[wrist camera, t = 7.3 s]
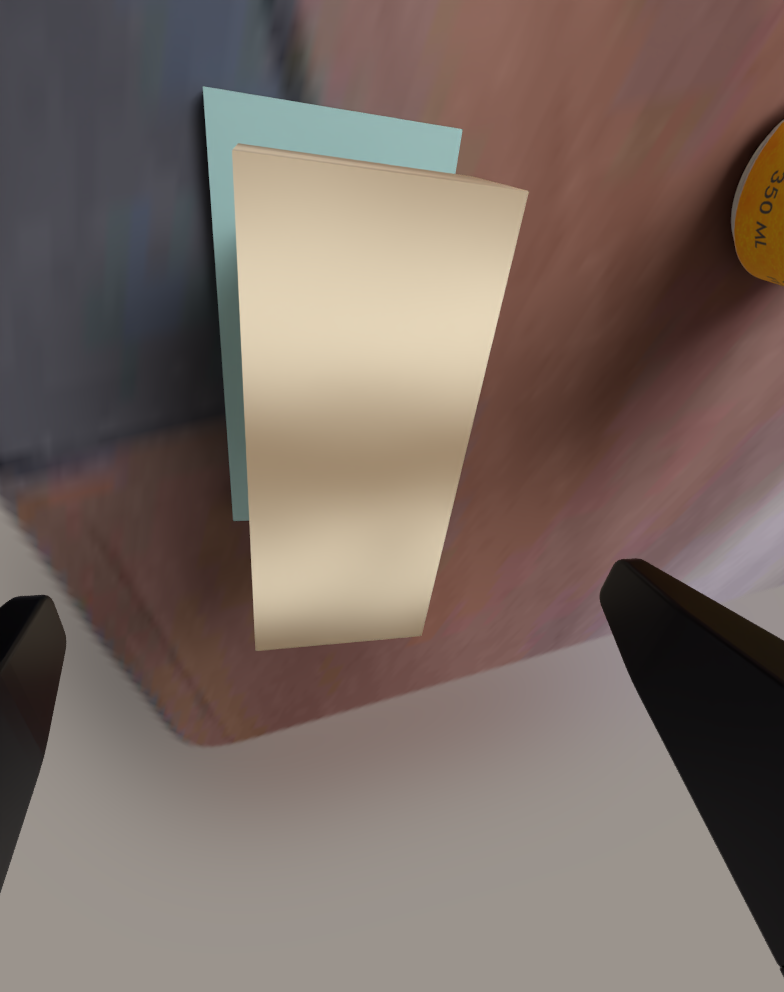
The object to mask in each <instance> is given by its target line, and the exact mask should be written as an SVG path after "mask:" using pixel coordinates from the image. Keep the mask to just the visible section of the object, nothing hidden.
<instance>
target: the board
mask: <svg viewBox="0 0 784 992" xmlns="http://www.w3.org/2000/svg"><path fill="white" fill-rule="evenodd" d="M232 162H233V183H234V204H235V226H236V247H237V268H238V289H239V311H240V332H241V353H242V374H243V396H244V417H245V438H246V460H247V481H248V502H249V523H250V545H251V566H252V587H253V608H254V630H255V651H262V650H272V649H283V648H294V647H305V646H316V645H327V644H338V643H349V642H360V641H371V640H381V639H392V638H403V637H414V636H421V635H422V631H423V627H424V623H425V619H426V615H427V611H428V606H429V602H430V598H431V594H432V590H433V586H434V582H435V577H436V573H437V569H438V565H439V561H440V557H441V553H442V549H443V544H444V540H445V536H446V532H447V528H448V524H449V520H450V515H451V511H452V507H453V503H454V499H455V495H456V491H457V486H458V482H459V478H460V474H461V470H462V466H463V462H464V457H465V453H466V449H467V445H468V441H469V437H470V433H471V428H472V424H473V420H474V416H475V412H476V408H477V404H478V399H479V395H480V391H481V387H482V383H483V379H484V375H485V370H486V366H487V362H488V358H489V354H490V350H491V346H492V341H493V337H494V333H495V329H496V325H497V321H498V317H499V312H500V308H501V304H502V300H503V296H504V292H505V288H506V283H507V279H508V275H509V271H510V267H511V263H512V259H513V255H514V250H515V246H516V242H517V238H518V234H519V230H520V226H521V221H522V217H523V213H524V209H525V205H526V201H527V197H528V192H529V191H526V190H522V189H519V188H515V187H511V186H507V185H503V184H499V183H496V182H492V181H488V180H484V179H480V178H477V177H473V176H466V175H459V174H452V173H445V172H438V171H431V170H424V169H417V168H410V167H402V166H395V165H388V164H381V163H374V162H367V161H360V160H353V159H346V158H339V157H332V156H325V155H318V154H311V153H304V152H297V151H289V150H282V149H275V148H268V147H261V146H254V145H247V144H240V143H238V144H237V145H236V146H235V147H234V148H233V150H232Z"/></svg>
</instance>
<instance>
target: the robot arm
mask: <svg viewBox="0 0 784 992" xmlns="http://www.w3.org/2000/svg"><path fill="white" fill-rule="evenodd" d="M600 603H601V606H602V609H603V611H604V614H605V616H606V619H607V621H608V624H609V626H610V629H611V631H612V634H613V636H614V638H615V641H616V643H617V646H618V648H619V651H620V653H621V656H622V658H623V661H624V663H625V666H626V668H627V671H628V673H629V675H630V677H631V680H632V682H633V684H634V686H635V688H636V690H637V693H638V695H639V696H640V698H641V700H642V702H643V704H644V706H645V708H646V710H647V712H648V714H649V716H650V718H651V720H652V722H653V723H654V725H655V728H656V729H657V731H658V733H659V735H660V737H661V739H662V741H663V743H664V745H665V747H666V749H667V751H668V753H669V755H670V757H671V758H672V760H673V762H674V764H675V766H676V768H677V770H678V772H679V774H680V776H681V778H682V780H683V782H684V784H685V786H686V787H687V790H688V792H689V793H690V795H691V797H692V799H693V801H694V803H695V805H696V807H697V809H698V811H699V813H700V815H701V817H702V818H703V821H704V822H705V824H706V826H707V828H708V830H709V832H710V834H711V836H712V838H713V840H714V842H715V844H716V846H717V848H718V850H719V852H720V854H721V855H722V857H723V859H724V861H725V863H726V865H727V867H728V869H729V871H730V873H731V875H732V877H733V879H734V881H735V883H736V885H737V887H738V889H739V891H740V892H741V894H742V896H743V898H744V900H745V902H746V904H747V906H748V908H749V910H750V912H751V914H752V916H753V917H754V920H755V922H756V924H757V925H758V927H759V929H760V931H761V933H762V935H763V937H764V939H765V941H766V943H767V945H768V947H769V949H770V951H771V953H772V954H773V956H774V958H775V960H776V962H777V964H778V965H779V966H780V971H781V973H782V975H783V977H784V640H782V639H780V638H778V637H777V636H775V635H773V634H771V633H770V632H768V631H766V630H764V629H763V628H761V627H759V626H757V625H756V624H754V623H752V622H750V621H749V620H747V619H745V618H743V617H742V616H740V615H738V614H737V613H735V612H733V611H731V610H729V609H728V608H726V607H724V606H723V605H721V604H719V603H717V602H716V601H714V600H712V599H710V598H709V597H707V596H705V595H703V594H702V593H700V592H698V591H696V590H695V589H693V588H691V587H690V586H688V585H686V584H684V583H683V582H681V581H679V580H677V579H676V578H674V577H672V576H670V575H669V574H667V573H665V572H663V571H662V570H660V569H658V568H656V567H655V566H653V565H651V564H650V563H648V562H646V561H644V560H642V559H637V558H635V559H621V560H618V561H617V562H616V563H615V564H614V565H613V567H612V569H611V571H610V573H609V575H608V577H607V579H606V581H605V583H604V585H603V586H602V588H601V591H600ZM65 650H66V635H65V631H64V629H63V626H62V624H61V621H60V618H59V615H58V613H57V610H56V608H55V605H54V602H53V601H52V599H51V598H50V597H49V596H46V595H34V596H19V597H15V598H13V599H11V600H9V601H8V602H6V603H5V604H4V605H3V606H1V607H0V892H1V889H2V886H3V883H4V880H5V877H6V874H7V871H8V868H9V865H10V862H11V859H12V855H13V853H14V849H15V846H16V843H17V840H18V837H19V834H20V831H21V828H22V825H23V822H24V819H25V815H26V812H27V809H28V806H29V803H30V800H31V797H32V794H33V791H34V787H35V785H36V781H37V778H38V775H39V772H40V768H41V765H42V762H43V758H44V754H45V750H46V745H47V741H48V736H49V731H50V725H51V721H52V716H53V711H54V705H55V701H56V696H57V691H58V686H59V681H60V675H61V671H62V666H63V661H64V655H65Z"/></svg>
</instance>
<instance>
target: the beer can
mask: <svg viewBox="0 0 784 992" xmlns="http://www.w3.org/2000/svg"><path fill="white" fill-rule="evenodd" d="M731 229H732V234H733V238H734V243H735V249H736V253H737V256H738V258H739V260H740V262H741V264H742V265H743V267H744V268H745V269H746V270H747V271H748V272H749V273H750V274H751V275H753V276H755V277H757V278H759V279H762V280H765V281H769V282H772V283H775V284H778V285H781V286H784V119H783V120H782V121H781V122H780V123H779V124H778V125H777V126H776V127H775V128H774V129H773V130H772V131H771V132H770V133H769V134H768V135H767V137H766V138H765V139H764V140H763V142H762V143H761V144H760V146H759V147H758V148H757V150H756V151H755V153H754V154H753V156H752V158H751V159H750V161H749V163H748V164H747V166H746V168H745V170H744V172H743V174H742V177H741V179H740V181H739V184H738V187H737V190H736V193H735V197H734V201H733V206H732V212H731Z"/></svg>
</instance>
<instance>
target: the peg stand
mask: <svg viewBox="0 0 784 992" xmlns="http://www.w3.org/2000/svg"><path fill="white" fill-rule="evenodd" d="M203 96H204V111H205V125H206V139H207V154H208V168H209V182H210V196H211V211H212V225H213V239H214V254H215V268H216V282H217V297H218V311H219V325H220V339H221V354H222V368H223V382H224V397H225V411H226V425H227V439H228V454H229V468H230V482H231V497H232V511H233V521H249V502H248V481H247V460H246V438H245V417H244V396H243V374H242V353H241V332H240V311H239V289H238V268H237V247H236V226H235V204H234V183H233V162H232V150H233V148H234V147H235V146H236V145H237V144H238V143H240V144H247V145H254V146H261V147H268V148H275V149H282V150H289V151H297V152H304V153H311V154H318V155H325V156H332V157H339V158H346V159H353V160H360V161H367V162H374V163H381V164H388V165H395V166H402V167H410V168H417V169H424V170H431V171H438V172H445V173H452V174H455V172H456V166H457V160H458V154H459V148H460V142H461V136H462V130H463V129H457V128H451V127H445V126H439V125H433V124H427V123H421V122H415V121H409V120H403V119H397V118H391V117H385V116H378V115H372V114H366V113H360V112H354V111H348V110H342V109H336V108H330V107H324V106H318V105H312V104H306V103H300V102H294V101H288V100H282V99H276V98H270V97H264V96H257V95H251V94H245V93H239V92H233V91H227V90H221V89H215V88H209V87H203Z"/></svg>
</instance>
